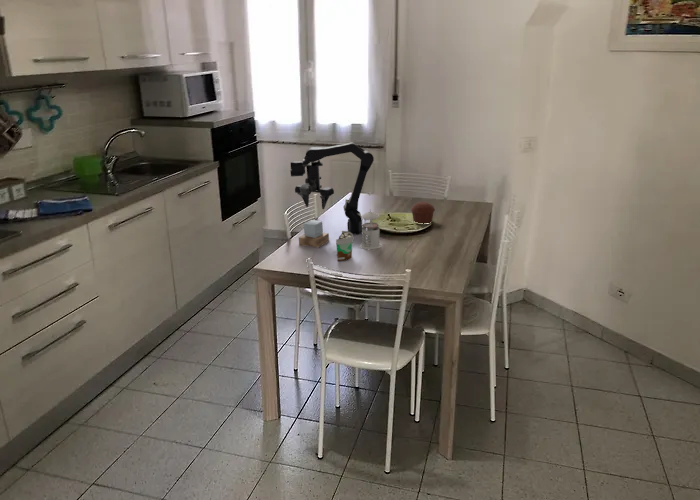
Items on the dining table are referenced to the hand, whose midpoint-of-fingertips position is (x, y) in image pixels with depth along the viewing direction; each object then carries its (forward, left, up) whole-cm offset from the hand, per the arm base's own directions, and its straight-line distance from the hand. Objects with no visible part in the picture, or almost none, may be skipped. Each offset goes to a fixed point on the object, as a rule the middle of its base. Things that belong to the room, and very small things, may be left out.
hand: (315, 208), depth 273 cm
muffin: (-36, -40, -13) cm, 56 cm away
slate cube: (-7, +10, -9) cm, 15 cm away
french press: (-31, +1, -13) cm, 33 cm away
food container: (-31, +19, -13) cm, 38 cm away
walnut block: (-7, +11, -13) cm, 18 cm away
